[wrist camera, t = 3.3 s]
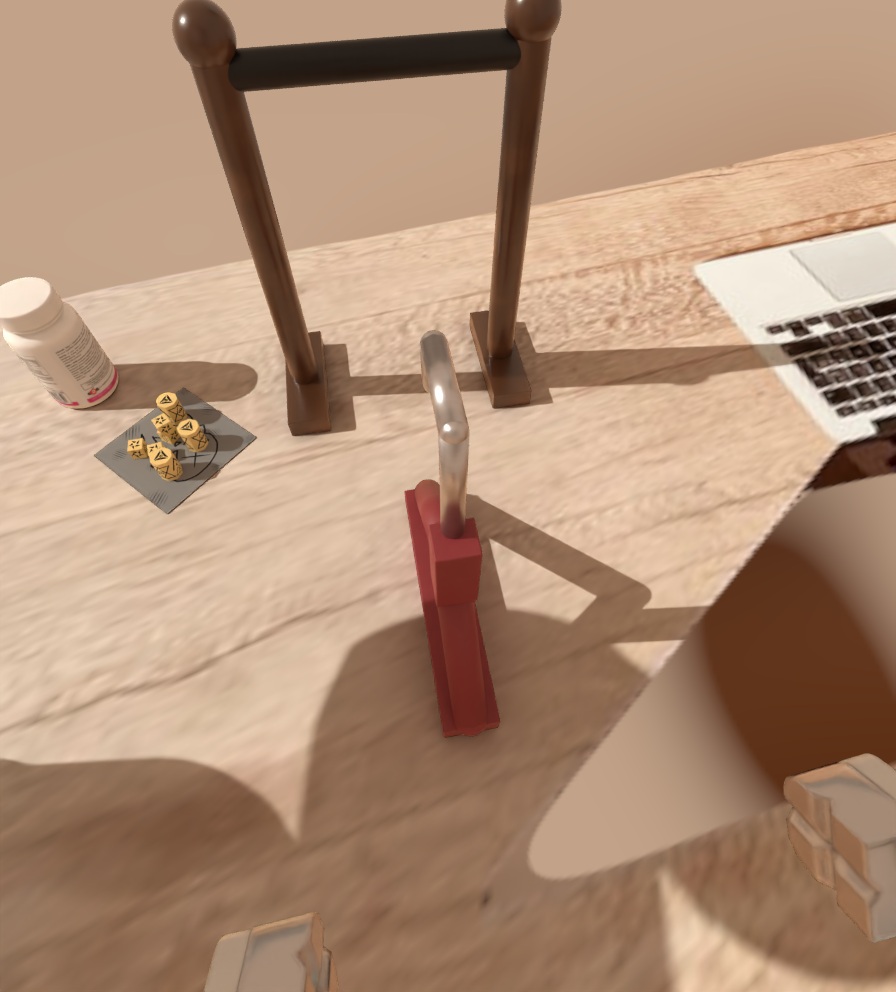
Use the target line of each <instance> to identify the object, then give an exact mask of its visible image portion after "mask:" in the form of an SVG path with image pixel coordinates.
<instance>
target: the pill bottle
mask: <svg viewBox="0 0 896 992" xmlns="http://www.w3.org/2000/svg"><path fill="white" fill-rule="evenodd" d="M0 326H1V327H2V328H3V334H4V338H5V341H6V342H7V344H8V345H9V346H10V348H11V349H12V350H13V351H14V352H15V353H16V355H17V356H18V357H19V358H20V359H21V361H22V362H23V363H24V364H25V365H26V366H27V368H28V369H29V370H30V371H31V372H32V373H33V375H34V376H35V377H36V378H37V379H38V380H39V382H40V383H41V384H42V385H43V386H44V387H45V389H46V390H47V391H48V392H49V393H50V394H51V395H52V397H53V398H54V399H55V400H56V401H57V402H58V403H60V404H61V405H63V406H65V407H68V408H74V409H79V408H87V407H91V406H94V405H96V404H99V403H101V402H102V401H104V400H105V399H107V398H108V397H109V396H110V395H111V394H112V393H113V392H114V390H115V389H116V387H117V384H118V379H119V377H118V372H117V370H116V369H115V367H114V365H113V364H112V362H111V361H110V359H109V358H108V357H107V355H106V354H105V352H104V351H103V349H102V348H101V346H100V345H99V344H98V342H97V341H96V339H95V338H94V336H93V335H92V333H91V332H90V330H89V329H88V327H87V326H86V325H85V323H84V322H83V320H82V319H81V317H80V316H79V314H78V313H77V312H76V310H75V309H74V308H73V307H72V306H70V305H69V304H67V303H65V302H62V300H61V298H60V296H59V295H58V294H57V293H56V291H55V290H54V289H53V287H52V286H51V285H50V284H49V283H48V282H47V281H46V280H43V279H40V278H35V277H26V278H20V279H16V280H13V281H11V282H8V283H6V284H4V285H2V286H0Z"/></svg>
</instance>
